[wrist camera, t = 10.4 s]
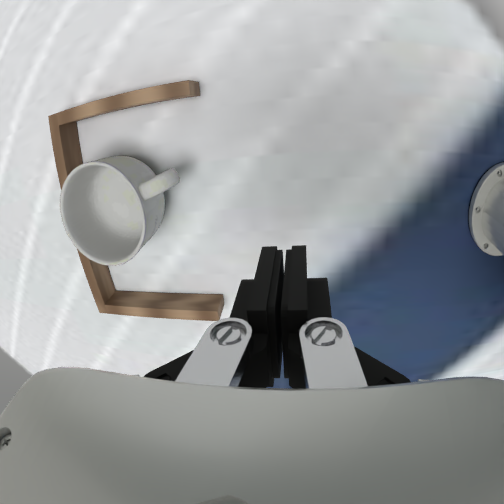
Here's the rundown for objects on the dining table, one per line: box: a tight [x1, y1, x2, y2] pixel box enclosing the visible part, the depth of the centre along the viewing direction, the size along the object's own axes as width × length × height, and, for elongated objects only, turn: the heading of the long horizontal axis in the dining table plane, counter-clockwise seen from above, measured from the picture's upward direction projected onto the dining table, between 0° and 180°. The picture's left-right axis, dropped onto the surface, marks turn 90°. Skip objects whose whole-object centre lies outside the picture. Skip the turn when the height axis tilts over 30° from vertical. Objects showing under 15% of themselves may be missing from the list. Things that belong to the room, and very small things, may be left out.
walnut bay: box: [48, 80, 224, 321], centre depth 33 cm, size 18×27×4 cm, turn 4°
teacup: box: [60, 156, 180, 266], centre depth 30 cm, size 14×11×8 cm
